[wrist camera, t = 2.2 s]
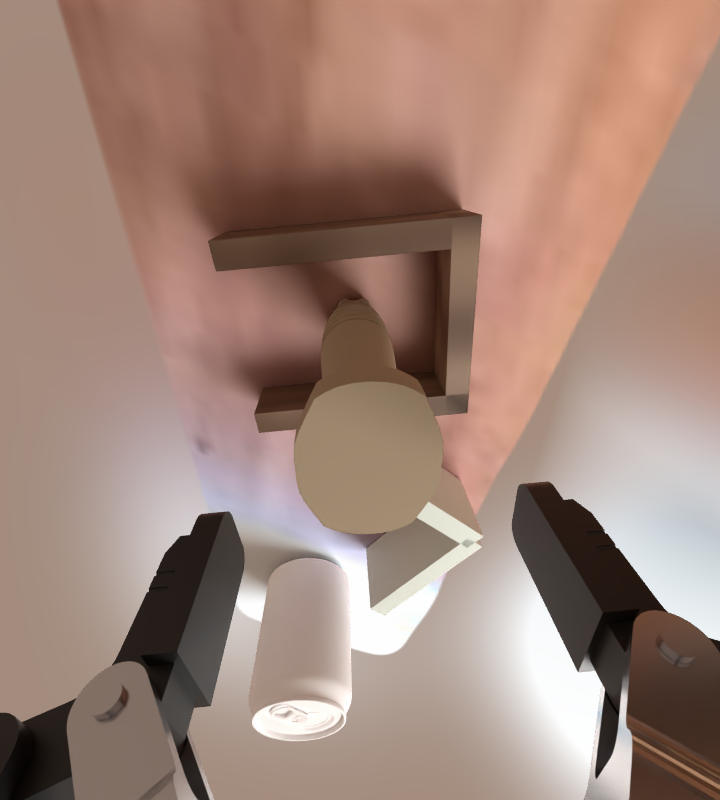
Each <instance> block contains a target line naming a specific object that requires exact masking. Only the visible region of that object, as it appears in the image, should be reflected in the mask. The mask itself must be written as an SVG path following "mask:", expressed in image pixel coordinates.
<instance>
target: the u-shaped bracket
mask: <svg viewBox="0 0 720 800" xmlns="http://www.w3.org/2000/svg"><path fill="white" fill-rule="evenodd" d="M481 223H482V215H480V214H477V213H473V212H470V211H466V210H453V211H443V212H432V213H422V214H412V215H401V216H391V217H380V218H370V219H359V220H349V221H338V222H328V223H317V224H307V225H296V226H286V227H275V228H265V229H255V230H244V231H234V232H225V233H223V234H221V235H219V236H217V237H215V238H213V239H211V240H209V241H208V243H209V247H210V250H211V254H212V258H213V262H214V265H215V269H216V271H227V270H237V269H248V268H258V267H269V266H279V265H290V264H300V263H311V262H321V261H332V260H342V259H352V258H363V257H373V256H384V255H394V254H405V253H415V252H426V251H436V250H437V254H436V304H435V354H434V372H426V373H416V374H409V375H411V376H412V377H414V378H415V379H417V380H418V381H419V383H420V385H421V387H422V389H423V391H424V393H425V395H426V397H427V400H428V402H429V404H430V406H431V409H432V411H433V413H434V416H440V415H450V414H461V413H467V411H468V398H469V384H470V371H471V357H472V344H473V330H474V317H475V304H476V290H477V277H478V263H479V250H480V236H481ZM315 385H316V383H311V384H301V385H290V386H280V387H270V388H263V390H262V393H261V396H260V399H259V402H258V405H257V408H256V410H255V413H254V415H255V419H256V423H257V426H258V430H259V433H262V432H273V431H283V430H294V429H297V426H298V423H299V420H300V418H301V415H302V413H303V411H304V408H305V406H306V403H307V401H308V399H309V397H310V395H311V393H312V391H313V389H314V387H315Z"/></svg>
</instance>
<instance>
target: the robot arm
mask: <svg viewBox="0 0 720 800" xmlns="http://www.w3.org/2000/svg"><path fill="white" fill-rule="evenodd" d="M512 531H513V536H514V540H515V543H516V545H517V547H518V550H519V552H520V553H521V556H522V558H523V560H524V562H525V564H526V566H527V568H528V570H529V572H530V574H531V576H532V578H533V580H534V582H535V584H536V587H537V589H538V591H539V593H540V595H541V597H542V599H543V601H544V603H545V605H546V607H547V609H548V611H549V613H550V615H551V617H552V619H553V622H554V624H555V626H556V628H557V630H558V632H559V634H560V636H561V638H562V640H563V642H564V644H565V646H566V648H567V650H568V652H569V654H570V656H571V658H572V661H573V663H574V665H575V667H576V669H577V671H578V672H587V671H596V673H597V675H598V677H599V679H600V680H601V682H602V684H603V686H602V688H601V694H600V702H599V708H598V717H597V725H596V731H595V740H594V747H593V754H592V762H591V770H590V777H589V782H588V787H587V791H586V795H585V798H584V800H720V641H718V640H714V639H711V638H708V637H707V636H706V635H705V634H704V633H703V632H702V631H700V630H699V629H698V628H697V627H695V626H694V625H693V624H691V623H690V622H688V621H686V620H684V619H683V618H681V617H679V616H676V615H674V614H671V613H668V612H667V611H666V610H665V609H664V608H663V606H662V605H661V604H660V603H659V601H658V600H657V599H656V598H655V596H654V595H653V594H652V592H651V591H650V590H649V588H648V587H647V586H646V585H645V583H644V582H643V580H642V579H641V578H640V576H639V575H638V574H637V572H636V571H635V570H634V569H633V567H632V566H631V565H630V563H629V562H628V561H627V559H626V558H625V557H624V555H623V554H622V553H621V551H620V550H619V549H618V548H616V547H615V543H614V542H613V541H612V539H611V538H610V537H609V535H608V534H605V532H604V529H603V528H602V526H601V525H600V524H599V522H598V521H597V520H596V518H595V517H594V516H593V514H592V513H591V512H589V511H588V510H587V509H585V508H584V507H583V506H581V505H580V504H579V503H577V502H576V501H574V500H573V499H569V500H563V499H562V497H561V496H560V494H559V493H558V491H557V490H556V488H555V487H554V486H553V485H552V484H551V483H550V482H538V483H528V484H520V485H519V487H518V490H517V496H516V502H515V508H514V513H513V519H512ZM243 570H244V549H243V545H242V543H241V540H240V537H239V534H238V531H237V529H236V526H235V523H234V520H233V517H232V515H231V513H230V512H218V513H208V514H201V515H199V516H198V518H197V520H196V522H195V525H194V527H193V529H192V532H191V534H190V535H186V536H180V537H179V539H177V540H176V542H175V543H174V544H173V545H172V546H171V547H170V548H169V549H168V551H167V552H166V553H165V555H164V557H163V559H162V561H161V563H160V565H159V568H158V570H157V572H156V573H157V574H156V576H154V578H153V581H152V583H151V585H150V587H149V592H147V594H146V596H145V598H144V600H143V602H142V604H141V607H140V609H139V611H138V613H137V615H136V617H135V619H134V622H133V624H132V626H131V628H130V630H129V632H128V635H127V637H126V639H125V641H124V643H123V645H122V648H121V650H120V652H119V654H118V656H117V658H116V660H115V661H114V663H113V664H112V666H111V667H108V668H107V669H105V670H104V671H102V672H101V673H99V674H98V675H97V676H95V677H94V678H93V679H92V680H91V681H90V682H89V683H88V684H87V685H86V686H85V688H84V689H83V690H82V691H81V693H80V694H79V695H78V697H77V698H76V699H74V700H72V701H70V702H68V703H65V704H63V705H61V706H58V707H56V708H54V709H52V710H49V711H47V712H45V713H42V714H40V715H38V716H35V717H33V718H31V719H28V720H26V721H24V722H21V721H19V720H18V719H17V718H16V717H15V716H13V715H11V714H9V713H0V800H214V799H213V796H212V793H211V790H210V787H209V785H208V782H207V779H206V776H205V773H204V770H203V768H202V765H201V762H200V759H199V756H198V754H197V751H196V748H195V745H194V742H193V740H192V737H191V734H190V731H189V729H188V727H189V724H190V720H191V716H192V713H193V709H194V708H196V707H206V706H211V702H212V698H213V693H214V690H215V685H216V681H217V677H218V673H219V669H220V665H221V661H222V657H223V653H224V648H225V644H226V640H227V636H228V632H229V628H230V623H231V620H232V615H233V611H234V607H235V603H236V599H237V595H238V591H239V587H240V582H241V578H242V574H243Z"/></svg>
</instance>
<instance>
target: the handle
mask: <svg viewBox="0 0 720 800" xmlns="http://www.w3.org/2000/svg"><path fill="white" fill-rule="evenodd" d="M321 371H322V379H321V380H319V381H318V382H317V383H316V385H315V387H314V389H313V391H312V393H311V395H310V397H309V399H308V401H307V403H306V406H305V408H304V411H303V413H302V415H301V418H300V420H299V423H298V426H297V430H296V436H295V444H294V462H295V471H296V480H297V485H298V489H299V493H300V494H301V496H302V498H303V500H304V501H305V503H306V504H307V506H308V507H309V508H310V510H311V511H312V512H313V513H314V515H315V516H316V517H317V518H318V520H319V521H320V522H321V523H322V524H323V526H325V527H327V528H330V529H332V530H336V531H339V532H343V533H351V534H375V533H383V532H388V531H393V530H396V529H399V528H402V527H404V526H406V525H408V524H410V523H412V522H413V521H414V520H415V519H416V517H417V516H418V515H419V514H420V512H421V511H422V510H423V508H424V507H425V506H426V504H427V503H428V502H429V500H430V499H431V498H432V496H433V494H434V492H435V490H436V489H437V486H438V482H439V479H440V473H441V466H442V459H443V438H442V434H441V431H440V428H439V425H438V423H437V420H436V418H435V416H434V413H433V411H432V409H431V406H430V404H429V402H428V400H427V397H426V395H425V393H424V391H423V389H422V387H421V385H420V383H419V381H418V380H417V379H415V378H414V377H412V376H411V375H409V374H407V373H405V372H403V371H400V370H398V369H396V363H395V357H394V351H393V346H392V343H391V339H390V337H389V334H388V331H387V329H386V327H385V325H384V323H383V321H382V319H381V318H380V316H379V315H378V314H377V312H376V311H375V310H374V309H372V308H371V307H370V304H369V302H368V301H367V300H365V299H363V298H360V299H358V300H348V299H346V298H344V299H342V300H340V301H339V303H338V307H337V309H336V310H334V312H333V313H332V314H331V316H330V318H329V319H328V322H327V324H326V327H325V330H324V334H323V340H322V347H321Z"/></svg>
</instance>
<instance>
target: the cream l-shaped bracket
mask: <svg viewBox="0 0 720 800" xmlns="http://www.w3.org/2000/svg"><path fill="white" fill-rule="evenodd" d="M482 537H483V534H482V532H481V529H480V527H479V524H478V522H477V519H476V517H475V514H474V512H473V509H472V507H471V504H470V502H469V499H468V497H467V494H466V492H465V489H464V487H463V484H462V482H461V480H460V479H458V478H457V477H455V476H454V475H452V474H451V473H449V472H448V471H447V470H445V469H444V468H442V467H441V473H440V479H439V482H438V486H437V489H436V490H435V492H434V494H433V496H432V498H431V499H430V500H429V502H428V503H427V504H426V506H425V507H424V508H423V510H422V511H421V512H420V514H419V515H418V516H417V517H416V519H415V520H414V521H413V522H412V523H410V524H408V525H406V526H404V527H402V528H399V529H396V530H393V531H388V532H386V533H385V534H384V535H382V536H381V537H380V538H379V539H378V540H376V541H375V542H374V543H373V544H371V545H370V546H369V547H368V548H367V549H366V553H367V566H368V580H369V593H370V606H371V609H372V610H374V611H377V612H379V613H381V614H383V615H386V614H387V613H388V612H390V611H391V610H393V609H394V608H396V607H397V606H398V605H400V604H401V603H403V602H404V601H406V600H407V599H408V598H410V597H411V596H413V595H414V594H416V593H417V592H418V591H420V590H421V589H423V588H424V587H426V586H427V585H428V584H430V583H431V582H433V581H434V580H436V579H437V578H438V577H440V576H441V575H443V574H444V573H445V572H447V571H448V570H450V569H451V568H453V567H454V566H455V565H457V564H458V563H460V562H461V561H463V560H464V559H465V558H467V557H468V556H470V555H471V554H473V553H474V552H475V551H477V550H478V549H480V548H481V547H482V545H481V542H480V540H479V539H481V538H482Z"/></svg>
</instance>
